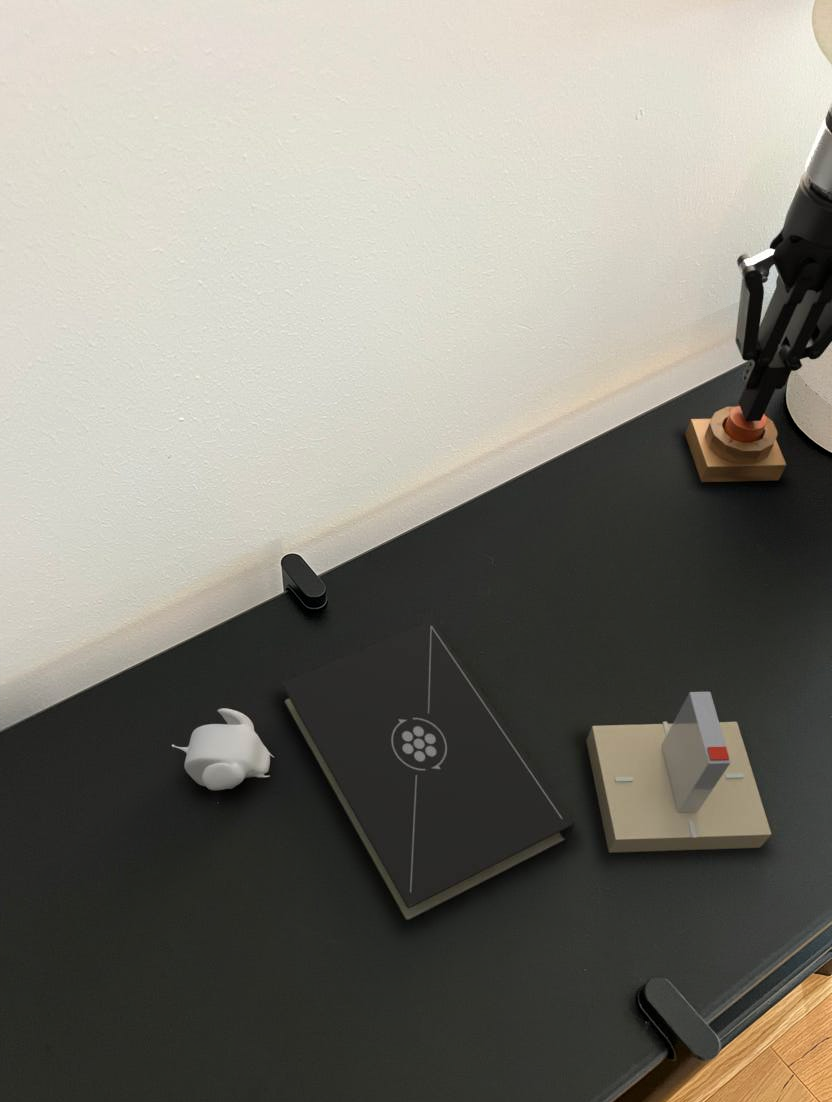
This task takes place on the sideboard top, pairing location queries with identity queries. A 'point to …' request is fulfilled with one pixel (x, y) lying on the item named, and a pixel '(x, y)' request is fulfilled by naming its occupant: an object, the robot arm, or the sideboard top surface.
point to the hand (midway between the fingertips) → (749, 411)
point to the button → (743, 427)
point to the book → (424, 768)
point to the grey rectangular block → (695, 752)
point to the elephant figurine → (226, 752)
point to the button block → (733, 452)
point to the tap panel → (670, 794)
